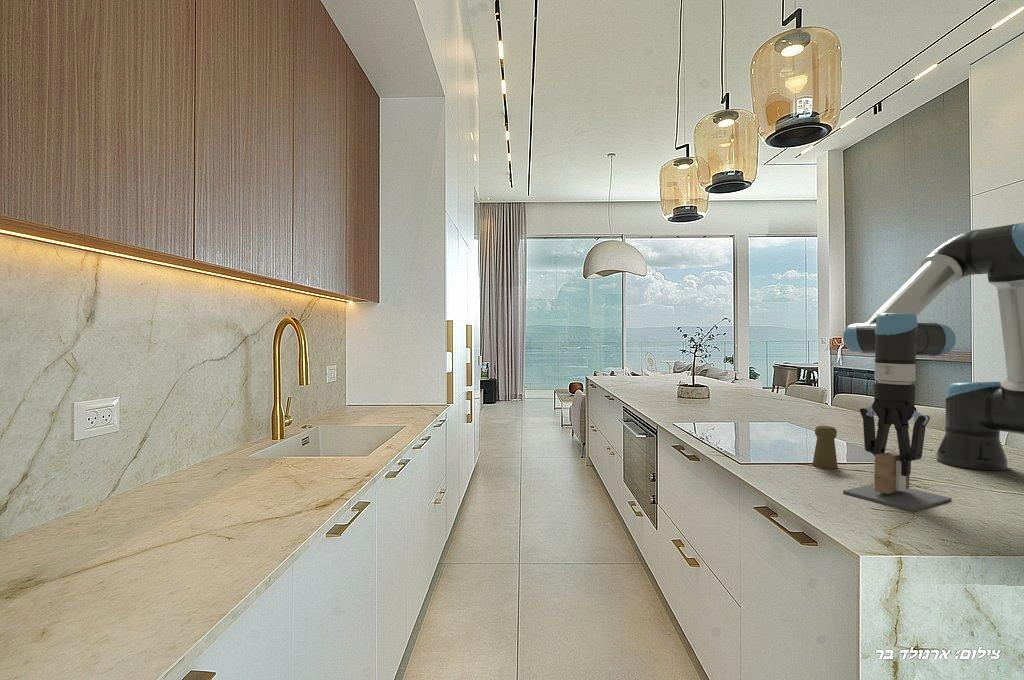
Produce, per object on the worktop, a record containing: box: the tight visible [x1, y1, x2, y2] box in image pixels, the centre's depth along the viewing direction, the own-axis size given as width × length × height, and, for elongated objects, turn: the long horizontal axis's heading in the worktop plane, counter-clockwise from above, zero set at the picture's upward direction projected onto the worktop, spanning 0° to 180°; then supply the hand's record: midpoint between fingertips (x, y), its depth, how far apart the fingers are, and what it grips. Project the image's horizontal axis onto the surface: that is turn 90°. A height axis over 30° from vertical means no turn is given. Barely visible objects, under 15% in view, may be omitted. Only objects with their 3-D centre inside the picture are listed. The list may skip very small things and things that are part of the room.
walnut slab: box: [872, 450, 910, 494], centre depth 121 cm, size 9×3×8 cm, turn 119°
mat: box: [842, 483, 952, 512], centre depth 121 cm, size 16×14×1 cm
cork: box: [811, 424, 839, 470], centre depth 148 cm, size 6×6×11 cm
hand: (891, 487), depth 122 cm, fingers closed on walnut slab, 3 cm apart
